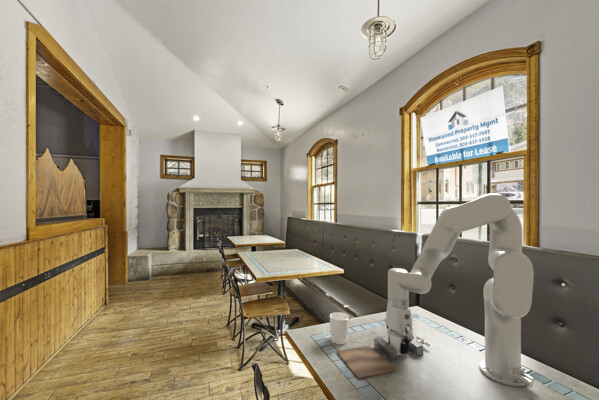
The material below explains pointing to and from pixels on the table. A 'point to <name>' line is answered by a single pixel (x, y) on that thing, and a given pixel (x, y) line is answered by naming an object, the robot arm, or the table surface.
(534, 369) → the table surface
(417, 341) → the vise
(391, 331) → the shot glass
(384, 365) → the serving board
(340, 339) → the white cup
